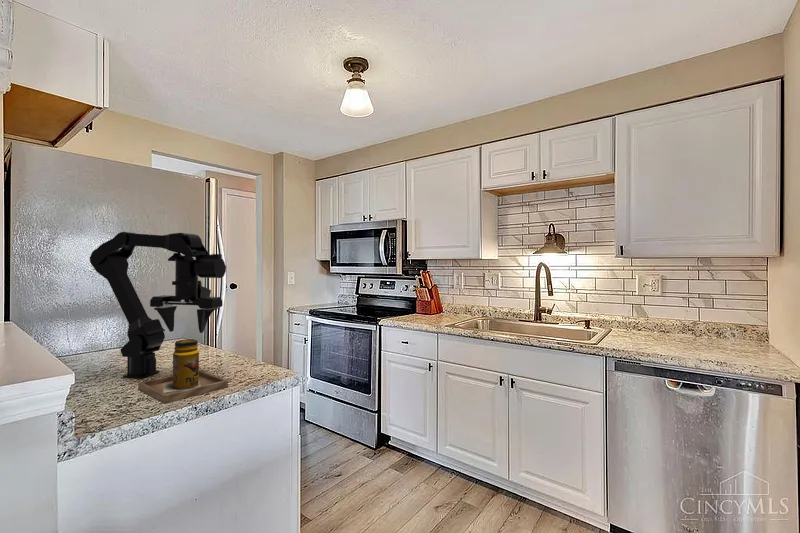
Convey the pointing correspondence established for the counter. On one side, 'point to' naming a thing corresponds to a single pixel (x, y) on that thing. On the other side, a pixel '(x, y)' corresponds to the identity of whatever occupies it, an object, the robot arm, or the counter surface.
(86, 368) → the counter surface
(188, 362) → the condiment
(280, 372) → the counter surface
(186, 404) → the counter surface
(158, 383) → the tray
